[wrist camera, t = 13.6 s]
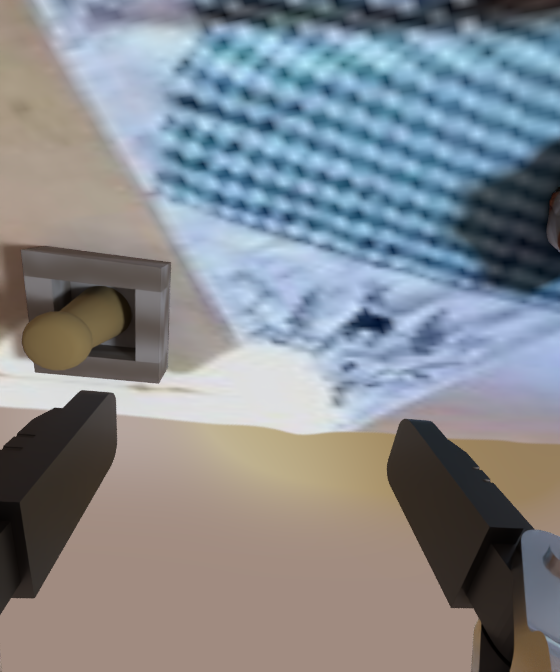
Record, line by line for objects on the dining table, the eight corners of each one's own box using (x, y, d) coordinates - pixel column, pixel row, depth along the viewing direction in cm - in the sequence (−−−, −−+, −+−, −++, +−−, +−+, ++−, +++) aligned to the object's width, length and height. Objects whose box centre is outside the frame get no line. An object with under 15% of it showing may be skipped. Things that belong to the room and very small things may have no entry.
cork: (142, 322, 38) (100, 362, 28) (98, 345, 39) (41, 392, 28) (110, 276, 36) (53, 300, 26) (64, 300, 37) (-10, 333, 26)
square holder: (45, 246, 35) (20, 249, 31) (170, 262, 37) (161, 267, 33) (55, 357, 39) (34, 372, 36) (167, 368, 41) (158, 383, 37)
